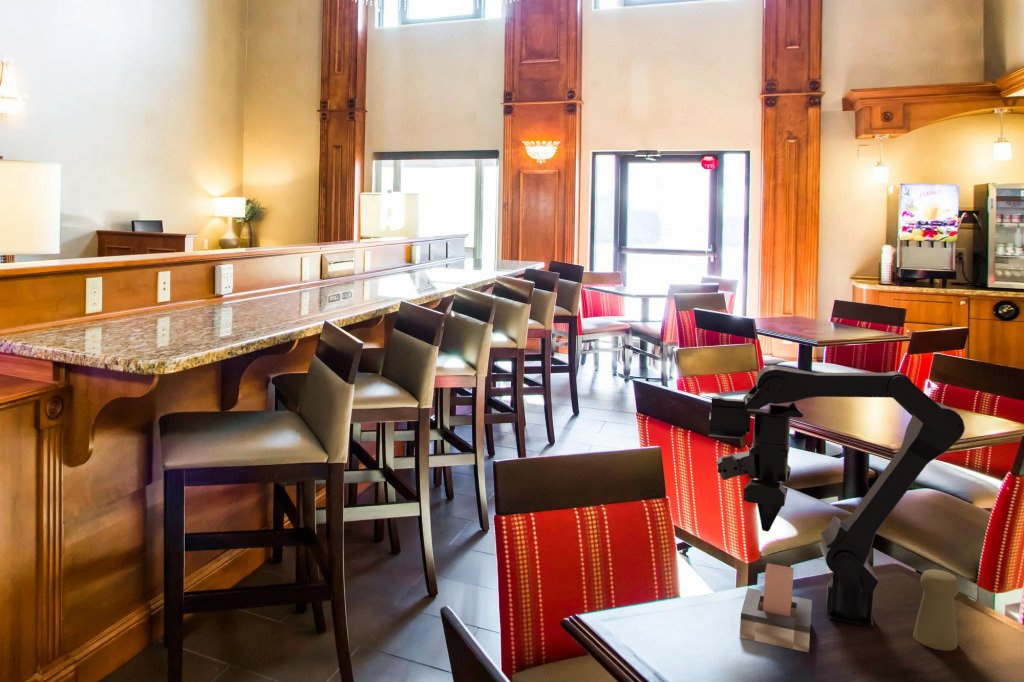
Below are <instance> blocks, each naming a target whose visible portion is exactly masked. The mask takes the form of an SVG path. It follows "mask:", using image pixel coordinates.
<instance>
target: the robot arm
mask: <svg viewBox="0 0 1024 682" xmlns="http://www.w3.org/2000/svg"><path fill="white" fill-rule="evenodd" d="M745 394H746V395H744V396H743V398H742V399H739V398H726V397H725V398H724V397H721V396H715V395H714V396H712V397H711V405H710V406H711V408H710V412H709V423H708V424H709V426H708V437H717V438H718V437H719V438H730V439H742V440H743V436H747V434H750V431H751V415H754V417H753V435H752V443H751V447H750V448H749V450H746V451H741V452H736V453H731V454H727V455H723V456H720V457H718V459H717V461H715V462H716V465H717V470H716V471H717V473H718V474H719V475H720V478H721V480H722V481H726V480H730V479H731V478H734V477H735V478H736V477H739V476H744V475H747V478H748V479H750V480H749V481H748V482H747V483H746V484H745V486H744V488H743V499H742V500H743V502H747V503H752V504H756V505H757V509H758V515H759V520H760V524H761V525H760V526H761V530H762V532H763V531H764V532H770V530H771V528H772V526H773V524H774V523H775V520H776V518H777V516H778V514H779V512H780V510H781V509H782V507H785V505H786V500H787V495H788V490H789V488H787V487H785V486H784V484H783V482H784V483H787V482H790V481H791V472H792V471H791V470H792V467H791V466H790V465H789V463H788V462H789V453H790V431H791V429H790V428H791V418H796V419H798V418H799V419H800V418H801V419H802V418H803V417H804V413H803V412H802V411H801V409H799V408H798V407H797V406H796V403H795V402H799V401H804V400H806V399H812V398H816V397H817V398H820V397H821V398H825V397H826V398H891V399H893V400H894V401H896V403H898V405H900V407H902V408H903V409H904V410H905V411H906V412H907V413H908V414H909V415H910V416H911V417H910V420H909V422H908V425H907V426H906V429H905V432H904V435H903V439H902V443H901V446H900V448H899V449H898V451H896V453H895V455H893V457H892V459H891V460H890V461H889V463H888V464H887V465H886V467H885V468H884V469H883V471H882V472H881V474H880V475H879V477H878V478H877V479H876V481H875V482H874V483H873V484H872V486H871V487H870V489H869V490H868V491H867V493H866V494H865V495H864V497H863V498H862V499H861V501H860V502H859V504H858V505H857V507H855V509H854V510H853V512H852V513H851V514H850V515H849V516H847V517H845V518H843V519H842V520H841V519H840V518H838V517H837V515H834V516H833V517H832V519H831V521H830V523H829V525H828V526H827V527H826V528H825V530H822V531H821V532H820V534H821V535H820V536H821V537H822V538H821V540H820V550H821V553H822V555H823V558H824V560H825V563H826V566H827V567H828V569H829V570H830V571H831V574H832V576H831V580H829V581H828V582H827V592H826V607H825V609H826V611H828V618H829V619H830V620H834V621H839V622H844V623H850V624H853V625H854V624H855V625H860V626H864V627H869V628H871V627H873V626H874V622H873V608H874V593H875V589H876V587H877V585H878V584H879V581H878V578H877V577H876V574H875V573H874V571H873V569H872V567H871V564H870V563H869V561H868V558H869V556H870V554H871V551H872V546H873V544H874V539H875V536H876V534H877V533H878V531H879V530H880V528H881V527H882V525H883V524H884V523H885V521H886V520H887V519H888V517H889V516H890V514H891V513H893V511H894V510H895V508H896V507H897V505H898V504H899V503H900V501H901V500H902V499H903V498H904V496H905V494H906V493H907V492H908V491H909V489H910V488H911V486H912V485H913V483H914V482H915V481H916V480H917V479H918V477H919V476H920V475H921V473H922V471H924V469H925V468H926V466H927V465H928V464H929V463H931V462H932V461H934V460H936V459H937V458H938V457H940V456H941V455H943V454H945V453H946V452H948V451H949V450H950V449H951V448H952V446H954V445H955V444H956V443H957V442H958V441H959V440H961V438H962V437H963V435H964V433H965V429H966V427H965V424H964V423H965V422H964V420H963V418H962V417H961V415H960V414H959V413H958V412H956V411H955V410H954V409H952V408H950V407H948V406H946V405H945V404H943V403H940V402H936V401H935V400H933V399H932V398H931V397H930V396H929V395H928V394H926V393H925V392H924V391H923V390H921V389H920V388H919V387H918V386H917V385H916V384H915V383H914V382H913V381H912V379H911V378H910V377H909V376H907V375H905V374H903V373H901V372H900V371H894V370H892V371H889V372H814V371H806V370H803V369H802V370H801V369H797V368H791V367H785V366H782V365H781V366H780V365H773V364H772V365H767V366H765V367H763V368H761V369H760V371H758V372H757V375H756V377H755V384H754V385H753V387H752V388H751V389H749V391H748V392H747V393H745ZM784 404H786V405H784ZM767 405H768V407H767V408H765V407H766V406H767Z"/></svg>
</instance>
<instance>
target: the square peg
mask: <svg viewBox="0 0 1024 682" xmlns="http://www.w3.org/2000/svg"><path fill="white" fill-rule="evenodd" d="M794 569H795V568H794V567H791V566H785V565H781V564H780V565H779V564H773V563H768V562H767V563H766V567H765V572H764V587H763V588H764V589H763V591H764V602H763V611H764V612H769V613H774V614H779V615H784V616H789V617H791V602H792V596H793V582H794V571H795V570H794Z"/></svg>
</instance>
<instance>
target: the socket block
mask: <svg viewBox="0 0 1024 682" xmlns="http://www.w3.org/2000/svg"><path fill="white" fill-rule="evenodd" d="M763 602H764V590H762V589H761V590H760V589H756V588H750V587H747V590H746V594H745V596H744V601H743V604H742V608H741V611H740V622H739V623H740V625H739V638H740V639H745V640H748V641H749V640H750V641H753V642H754V641H755V642H759V643H762V644H767V645H772V646H776V647H781V648H787V649H791V650H795V651H799V652H804V653H805V652H806V653H809V651H810V641H811V639H810V638H811V637H810V636H811V625H812V624H811V621H812V609H813V606H812V605H813V600H812V599H809V598H802V597H799V596H793V595H792V602H791V617H789V616H784V615H779V614H774V613H769V612H764V611H763Z"/></svg>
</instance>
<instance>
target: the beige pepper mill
mask: <svg viewBox="0 0 1024 682" xmlns="http://www.w3.org/2000/svg"><path fill="white" fill-rule="evenodd" d="M920 586H921V588H922V590H923V594H922V596H921V597H922V598H921V601H920V605H919V609H918V614H917V617H916V621H915V625H914V630H913V634H912V635H913V636H912V637H913V638H914V640H916V641H917V643H919V644H921V645H924V646H926V647H928V648H931V649H933V650H938V651H939V650H940V651H954V650H956V649H957V647H958V646H959V645H958V635H957V634H958V633H957V620H956V617H957V616H956V605H955V604H956V603H955V597H956V596H957V595H958V593H959V591H960V582H959V580H958V579H957V577H956V576H955V575H954V574H952V573H950V572H948V571H946V570H945V571H944V570H940V569H927V570H925V571H924V572H922V574H921V577H920Z"/></svg>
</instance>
